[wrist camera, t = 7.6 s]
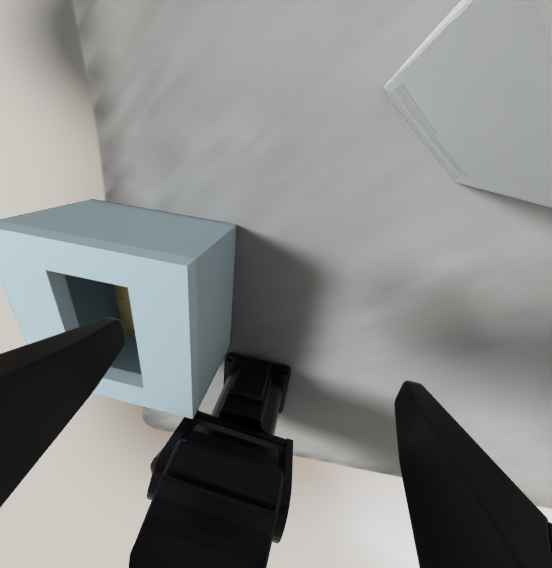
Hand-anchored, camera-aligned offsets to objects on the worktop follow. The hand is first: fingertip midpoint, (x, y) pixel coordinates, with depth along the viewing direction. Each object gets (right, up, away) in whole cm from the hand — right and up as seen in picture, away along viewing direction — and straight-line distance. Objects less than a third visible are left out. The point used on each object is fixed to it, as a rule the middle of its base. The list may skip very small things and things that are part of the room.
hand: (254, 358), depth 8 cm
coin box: (-9, +3, +15) cm, 18 cm away
